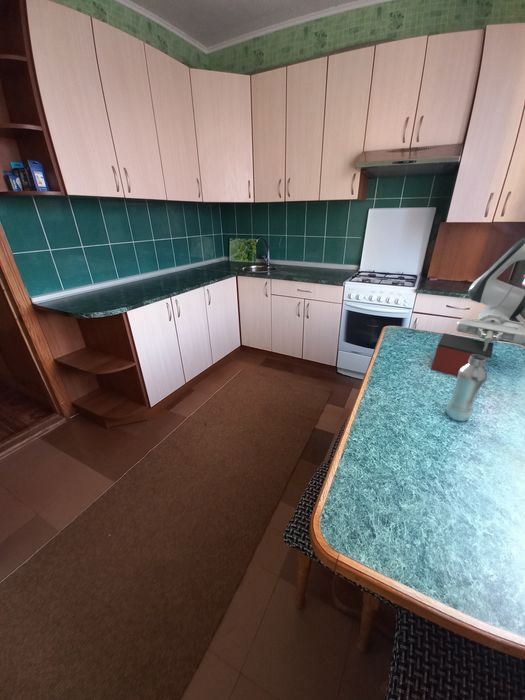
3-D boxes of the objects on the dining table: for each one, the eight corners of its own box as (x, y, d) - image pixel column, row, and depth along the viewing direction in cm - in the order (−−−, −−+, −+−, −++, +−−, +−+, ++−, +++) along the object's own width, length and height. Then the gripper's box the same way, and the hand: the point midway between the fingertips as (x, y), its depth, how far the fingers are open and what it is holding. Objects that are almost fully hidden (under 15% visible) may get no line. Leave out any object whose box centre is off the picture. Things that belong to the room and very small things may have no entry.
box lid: (492, 345, 104) (498, 329, 102) (490, 358, 96) (497, 341, 93) (443, 334, 113) (447, 320, 110) (437, 345, 105) (442, 330, 102)
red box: (480, 368, 109) (489, 344, 105) (478, 382, 101) (487, 357, 97) (436, 357, 117) (443, 334, 113) (430, 369, 109) (437, 346, 105)
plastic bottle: (440, 416, 86) (460, 357, 77) (448, 406, 90) (468, 349, 80) (465, 427, 81) (489, 366, 72) (472, 416, 85) (496, 357, 76)
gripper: (460, 311, 112) (456, 322, 103) (529, 322, 101) (531, 336, 91) (456, 326, 115) (451, 338, 106) (522, 339, 104) (523, 353, 94)
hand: (488, 337), depth 98 cm, fingers closed on box lid, 2 cm apart
